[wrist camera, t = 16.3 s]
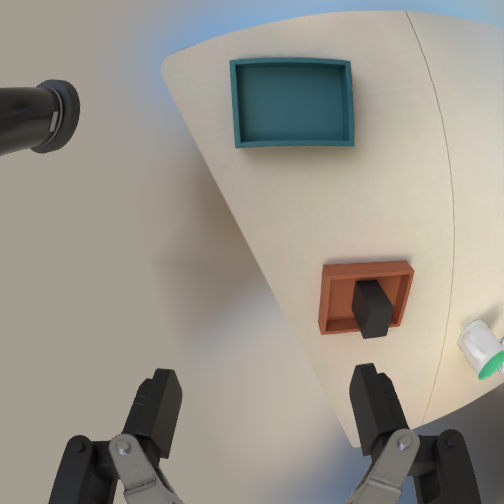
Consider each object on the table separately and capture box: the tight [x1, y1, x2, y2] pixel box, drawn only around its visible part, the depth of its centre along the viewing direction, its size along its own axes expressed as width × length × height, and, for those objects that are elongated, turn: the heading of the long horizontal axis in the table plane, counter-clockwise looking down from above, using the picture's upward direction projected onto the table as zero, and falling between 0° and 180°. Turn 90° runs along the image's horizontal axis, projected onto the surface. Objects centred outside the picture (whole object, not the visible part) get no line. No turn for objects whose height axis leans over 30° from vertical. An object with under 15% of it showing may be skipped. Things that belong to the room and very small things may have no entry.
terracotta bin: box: [318, 261, 414, 335], centre depth 38 cm, size 13×10×3 cm
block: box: [351, 280, 394, 339], centre depth 36 cm, size 4×5×7 cm
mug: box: [457, 319, 504, 380], centre depth 39 cm, size 12×8×10 cm
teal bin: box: [230, 58, 354, 148], centre depth 28 cm, size 13×10×3 cm
